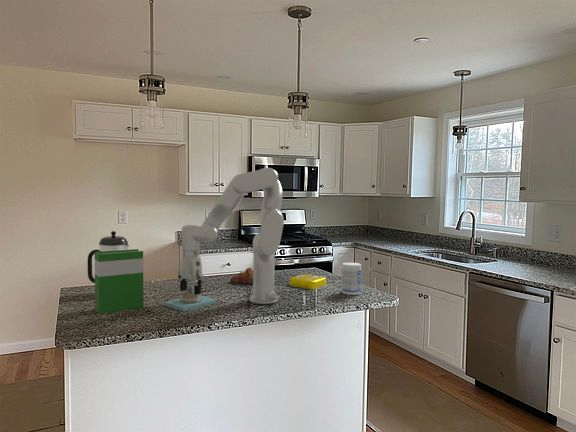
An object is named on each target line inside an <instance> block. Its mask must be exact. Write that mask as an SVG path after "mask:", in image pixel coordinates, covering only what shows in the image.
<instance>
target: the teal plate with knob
mask: <svg viewBox="0 0 576 432" xmlns="http://www.w3.org/2000/svg"><path fill="white" fill-rule="evenodd" d="M186 291H187V294H194V287H193V286H187V290H186ZM215 304H218V300H217V299H216V298H212V297H208V296H204V295H201V294H199V300H197V301H191V302H187V301H183V300H182V297H180V298H175V299H170V300H166V301H163V306H165V307H168V308H170V309H171V308H172V309H174V310H178V311H181V312H187V311H188V312H189V311H191V310H195V309H200V308H202V307H207V306H211V305H215Z"/></svg>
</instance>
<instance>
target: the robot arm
mask: <svg viewBox="0 0 576 432" xmlns="http://www.w3.org/2000/svg"><path fill="white" fill-rule="evenodd" d="M261 190H262V191H263V198H262V199H263V200H262V203H261V209H260V211H259V213H260V214H259V217H258V221H259V225H260V229H259V231H260V232H257V233H256V234H255V235H254V237H253V240H252V250H253V255H252V257H253V269H252V270H253V284H252V289H253V290H252V296H250V298H249V302H251V303H253V304H258V305H268V304H269V305H270V304H273V303H277V302H278V300H279V299H280V297H281V295H278V294H276V293H277V292H276V291H275V254H276V252H277V251H278V249H279V247H280V244H281V239H282V234H283V229H284V224H285V222H284V221H285V220H284V216H283V214H282V212H281V207H282V202H283V195H284V193H283V187H282V185H281V182H280V180H279V174H278V172H277V171H276V170H275V168H274V169H273V168H272V167H264V168H260V169H258V170H253V171H249V172H244V173H237V174H236V175H234V176H233V177H232V178H231V180H230V181H229V183H228V185H226V187H225V189H224V191H223V193H222V194H221V195H220V196H219V199H217V202H216V203H214V206H213V208H212V209H211V210H210V212H209V213H208V215H207V216H206V218H205V220H204V221H203V222H202V224H201V225H195V224H186V225H183V226H182V227H181V259H180V268H179V270H177V272H176V273H177V277H178V279H179V280H178V281H179V286H180V287H179V288H180V289H179V291H180V292H185V291H187V288H188V281H187V280H189V281H193V283H194V287H193V288H194V294H195V295H197V294H199V295H201V294H202V285H203V282H204V280H205V275H204V274H203V264H202V259H201V256H200V242H202V243H212V242H214V241H216V240H217V237H218V235H219V234H218V233H219V232H218V231H219V230H220V228H221V226H222V225H223V224H224V222H225V221H226V220H227V219H228V218H229V217H230V216H231V215H232V214H233V213H235V210H236V209H237V208H238V207H239V204H240V203H241V201H242V199H244V197H245V195H246V194H248V193H252V192H253V193H254V192H257V191H261Z"/></svg>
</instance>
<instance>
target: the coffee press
mask: <svg viewBox="0 0 576 432" xmlns="http://www.w3.org/2000/svg"><path fill="white" fill-rule="evenodd" d="M98 245H99V249H93V250H91V251H89V253H88V255H87V277H88V280H89V281H90V282H91V283H93V284H95V277H94V276H93V257H94V256H95V254H94V252H103V251H117V250H131V249H130V248H131V247H130V245H129V241H128V239H127V238H126V237H124V236H120V235H117V233H116V231H115V230H112V231H111V232H110V236H109V235H108V236H104V237H102V238H100V239H99V242H98Z"/></svg>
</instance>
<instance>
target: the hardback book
mask: <svg viewBox="0 0 576 432" xmlns="http://www.w3.org/2000/svg"><path fill="white" fill-rule="evenodd" d="M94 279H95V283H94V303H95V306H94V307H95V308H94V309H95V311H96V312H97V313H98V314H99V315H100V314H106V313H107V314H108V313H114V312H121V311H128V310H135V309H136V310H137V309H142V308H144V306H145V305H144V251H143V250H140V251H139V249H138V248H137V249H135V248H134V249H128V250H117V251H103V252H94Z"/></svg>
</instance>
